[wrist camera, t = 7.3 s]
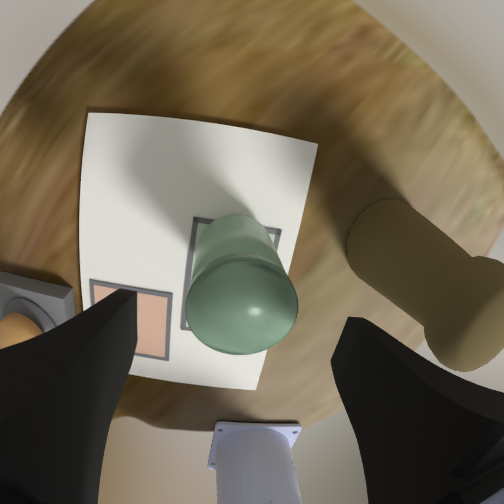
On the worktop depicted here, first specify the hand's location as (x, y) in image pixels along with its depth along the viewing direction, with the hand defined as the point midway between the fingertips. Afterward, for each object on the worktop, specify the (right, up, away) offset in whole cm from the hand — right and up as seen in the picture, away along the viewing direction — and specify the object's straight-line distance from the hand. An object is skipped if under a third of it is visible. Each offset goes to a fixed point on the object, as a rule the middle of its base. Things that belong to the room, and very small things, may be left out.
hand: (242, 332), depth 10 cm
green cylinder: (-1, +3, +8) cm, 8 cm away
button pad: (-16, -3, +9) cm, 19 cm away
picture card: (-4, +1, +9) cm, 10 cm away
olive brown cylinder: (+9, +3, +9) cm, 14 cm away
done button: (-16, -4, +7) cm, 17 cm away
